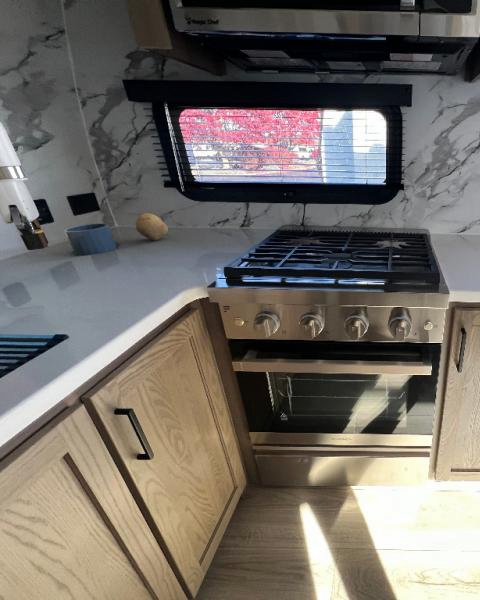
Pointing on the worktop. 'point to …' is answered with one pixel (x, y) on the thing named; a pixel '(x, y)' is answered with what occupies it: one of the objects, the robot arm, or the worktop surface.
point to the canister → (91, 239)
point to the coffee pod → (42, 237)
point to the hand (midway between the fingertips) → (38, 246)
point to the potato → (151, 226)
